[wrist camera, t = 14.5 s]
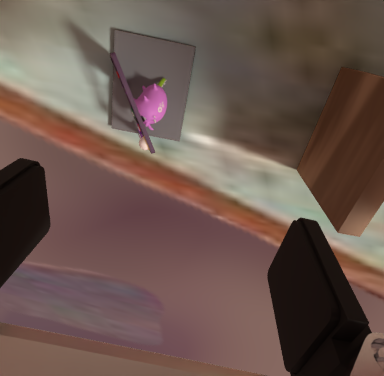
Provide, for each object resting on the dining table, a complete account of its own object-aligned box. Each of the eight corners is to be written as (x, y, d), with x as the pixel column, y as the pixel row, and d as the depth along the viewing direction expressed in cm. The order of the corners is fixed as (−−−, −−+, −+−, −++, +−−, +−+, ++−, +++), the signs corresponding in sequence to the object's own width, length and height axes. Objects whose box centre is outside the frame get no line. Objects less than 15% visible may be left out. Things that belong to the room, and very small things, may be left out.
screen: (360, 70, 27) (455, 95, 17) (311, 172, 33) (359, 236, 23) (341, 66, 27) (425, 88, 17) (296, 169, 33) (337, 232, 23)
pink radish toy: (101, 56, 21) (144, 157, 25) (162, 34, 22) (194, 137, 26) (102, 58, 27) (137, 139, 31) (150, 41, 27) (178, 123, 32)
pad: (195, 46, 27) (195, 47, 26) (179, 139, 32) (179, 141, 31) (116, 29, 26) (114, 29, 26) (113, 126, 31) (111, 128, 31)
